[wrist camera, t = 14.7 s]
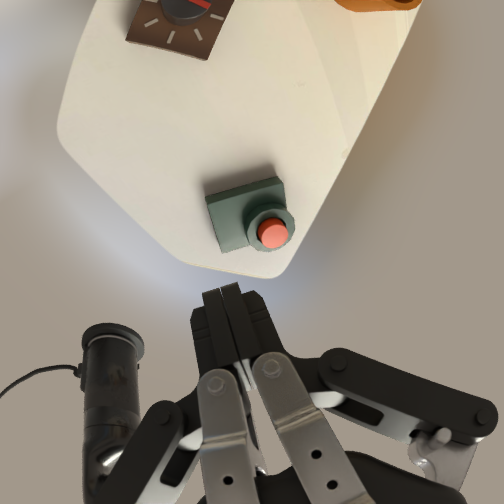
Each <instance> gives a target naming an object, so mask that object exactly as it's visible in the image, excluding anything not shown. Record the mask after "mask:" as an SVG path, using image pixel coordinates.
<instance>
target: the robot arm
mask: <svg viewBox="0 0 504 504" xmlns="http://www.w3.org/2000/svg"><path fill="white" fill-rule="evenodd" d="M220 288H221V292H222V294H221V292H220V289H219V288H216V289H213V290H210V291H207V292H204V293H202V297H203V302H204V306H202V307H199V308H196V309H194V310H193V312H192V316H191V319H190V323H191V329H192V335H193V340H194V346H195V352H196V357H197V363H198V368H199V374H200V377H199V382H198V384H197V386H196V388H195V389H194V391H192V392H191V394H189V395H187V396H186V397H184V398H182V399H181V400H179V401H178V402H176V403H174V402H172V401H167V400H163V401H159V402H157V403H155V404H153V405H152V406H151V407H150V408H149V410H148V411H147V413H146V414H145V416H144V418H143V419H142V421H141V418H140V406H139V393H138V371H137V370H138V369H139V364H137V356H138V351H137V347H136V345H135V343H134V342H133V341H131V340H130V339H129V338H127V337H125V336H122V335H119V334H114V333H102V334H98V335H96V336H94V337H92V338H91V339H90V341H89V343H88V344H85V345H84V352H83V362H82V363H80V364H78V369H77V367H75V366H71V365H56V366H49V367H44V368H39V369H36V370H34V371H32V372H30V373H28V374H27V375H25V376H23V377H21V378H20V379H18V380H16V381H15V382H13V383H12V384H11V385H9V386H8V387H7V388H6V389H4V391H2V392H1V393H0V398H1V397H2V396H3V395H4V394H5V393H6V392H7V391H9V390H10V389H11V388H13V387H14V386H16V385H17V384H19V383H20V382H22V381H24V380H26V379H28V378H30V377H32V376H33V375H35V374H38V373H41V372H46V371H52V370H58V369H71V370H74V373H73V374H74V375H75V376H76V377H78V378H81V385H80V388H81V390H82V391H83V392H84V393H85V397H84V441H83V447H82V473H83V476H82V485H83V486H82V487H83V502H84V504H175V503H176V501H177V499H178V497H179V496H180V494H181V492H182V490H183V489H184V487H185V485H186V483H187V481H188V479H189V478H190V476H191V474H192V472H193V470H194V469H195V466H196V465H197V463H198V461H199V459H200V463H201V469H202V476H203V483H204V489H205V495H204V496H203V497H202V499H200V501H199V502H198V503H197V504H467V502H466V500H465V498H464V497H463V495H462V494H461V493H460V492H459V490H460V488H461V486H462V484H463V481H464V479H465V477H466V474H467V472H468V469H469V467H470V464H471V461H472V459H473V456H474V453H475V451H476V448H477V445H478V443H479V441H480V440H482V439H483V438H485V437H486V436H488V435H489V434H490V433H492V432H493V430H494V429H495V427H496V425H497V422H498V412H497V409H496V407H495V405H494V404H493V403H492V402H491V401H489V400H486V399H483V398H480V397H477V396H473V395H470V394H468V393H465V392H462V391H459V390H456V389H452V388H450V387H447V386H444V385H441V384H438V383H435V382H432V381H430V380H427V379H424V378H421V377H418V376H416V375H413V374H410V373H407V372H405V371H402V370H399V369H397V368H394V367H391V366H388V365H386V364H383V363H381V362H378V361H376V360H373V359H370V358H368V357H365V356H363V355H360V354H358V353H355V352H353V351H350V350H348V349H344V348H333V349H330V350H328V351H326V352H325V353H324V354H323V355H322V356H321V357H320V358H308V359H303V358H297V357H294V356H292V355H290V354H289V353H288V352H286V350H285V349H284V348H283V345H282V343H281V341H280V338H279V336H278V334H277V331H276V329H275V326H274V324H273V322H272V319H271V317H270V314H269V312H268V310H267V307H266V305H265V302H264V300H263V298H262V297H261V296H260V295H259V294H258V293H257V292H255V291H254V290H253V291H250V292H246V293H243V294H241V291H240V288H239V285H238V283H237V282H235V283H232V284H229V285H226V286H223V287H220ZM222 296H223V297H222ZM223 299H224V300H223ZM248 377H249V378H248ZM249 379H250V381H249ZM250 382H251V384H252V386H253V388H254V389H256V388H258V391H259V393H260V396H261V398H262V400H263V403H264V405H265V407H266V410H267V412H268V414H269V416H270V419H271V421H272V423H273V425H274V427H275V430H276V432H277V434H278V436H279V438H280V441H281V443H282V445H283V447H284V449H285V452H286V454H287V456H288V458H289V460H290V462H291V464H292V466H291V467H289V468H288V469H286V470H284V471H283V472H281V473H279V474H277V475H268V472H267V468H266V464H265V461H264V458H263V455H262V452H261V449H260V445H259V440H258V436H257V432H256V427H255V423H254V418H253V414H252V409H251V404H250V401H249V398H248V394H247V391H251V390H252V388H251V385H250ZM319 408H323V409H325V410H327V411H329V412H331V413H333V414H335V415H338V416H340V417H342V418H344V419H347V420H349V421H351V422H353V423H356V424H358V425H360V426H363V427H365V428H368V429H370V430H372V431H375V432H377V433H380V434H382V435H385V436H387V437H390V438H392V439H395V440H398V441H400V442H403V443H406V444H409V447H408V456H409V459H410V460H411V461H412V462H413V463H414V464H415V465H417V466H419V467H420V468H421V469H422V470H423V471H424V473H425V477H426V478H423V477H420V476H417V475H415V474H412V473H410V472H407V471H405V470H402V469H400V468H397V467H395V466H393V465H390V464H388V463H385V462H383V461H381V460H378V459H376V458H374V457H372V456H370V455H367V454H364V453H361V452H355V451H344V450H343V448H342V446H341V445H340V443H339V441H338V439H337V438H336V436H335V434H334V432H333V430H332V429H331V427H330V425H329V423H328V421H327V420H326V418H325V416H324V414H323V413H322V412H321V410H320V409H319Z"/></svg>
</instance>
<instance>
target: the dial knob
mask: <svg viewBox="0 0 504 504" xmlns="http://www.w3.org/2000/svg"><path fill="white" fill-rule="evenodd" d="M161 2H162V12H163V15H164V17H165V19H166V20H167V21H168V22H170V23H171V24H174V25H177V26H187V25H191V24H193V23H195V22H197V21H198V20H199V19H201V17H202V16H203V15H204V14H205V12H206V11H207V10H208V8H209V7H210V5H211V3H212V0H161Z"/></svg>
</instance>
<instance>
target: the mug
mask: <svg viewBox="0 0 504 504" xmlns="http://www.w3.org/2000/svg"><path fill="white" fill-rule="evenodd" d="M335 1H336V2H337V3H338V4H339V5H341V6H343V7H344V8H346V9H348V10H351V11H354V12H371V11H393V10H411V9H414V8H416V7H417V6H418V5H419V4H420V3H421V1H422V0H335Z"/></svg>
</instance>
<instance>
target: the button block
mask: <svg viewBox="0 0 504 504" xmlns="http://www.w3.org/2000/svg"><path fill="white" fill-rule="evenodd" d="M205 200H206V203H207V206H208V210H209V213H210V216H211V220H212V223H213V226H214V229H215V233H216V236H217V239H218V242H219V245H220V249H221V252H222V254H223V253H226V252H229V251H233V250H236V249H239V248H242V247H245V246H248V245H251V246H253V247H254V248H255V249H256V250H258V251H264V252H271V251H274V250H277V249H280V248H282V247H283V246H284V245H285V244H286V243H287V242H289V241H290V240H291V237H292V235H293V233H294V231H295V224H294V218H293V217H292V215H291V214H290V213H289V212H288V211H287V207H286V200H285V193H284V186H283V182H282V181H281V180H280V179H279V178H278V176H277V177H273V178H269V179H266V180H262V181H259V182H255V183H251V184H248V185H244V186H241V187H237V188H234V189H231V190H227V191H224V192H220V193H217V194H214V195H211V196H207V197H205ZM269 218H277V219H279V220H281V221H282V223H283V224H284V226H285V227H286V229H287V231H288V237H287V240H286V241H285V243H284V244H282V245H281V246H279V247H277V248H267V247H265V246H264V245H263V244H262V242H261V240H260V238H259V236H258V228H259V226H260V224H261V223H262V222H263V221H265V220H266V219H269Z"/></svg>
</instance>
